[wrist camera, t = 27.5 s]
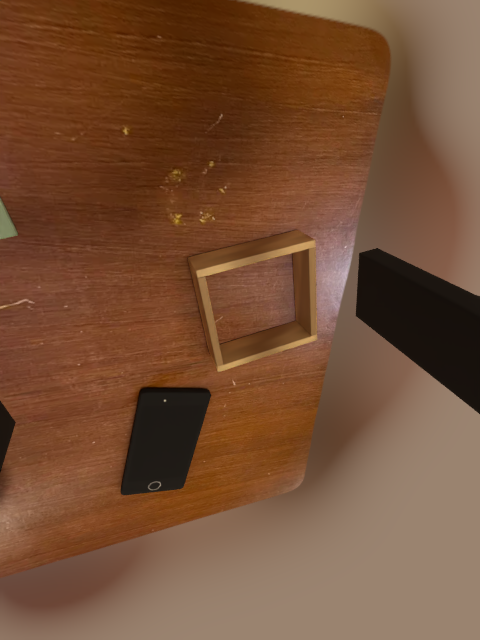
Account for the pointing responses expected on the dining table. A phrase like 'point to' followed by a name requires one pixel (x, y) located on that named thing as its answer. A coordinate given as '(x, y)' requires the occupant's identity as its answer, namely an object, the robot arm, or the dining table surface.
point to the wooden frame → (274, 337)
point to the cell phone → (163, 439)
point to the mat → (6, 223)
